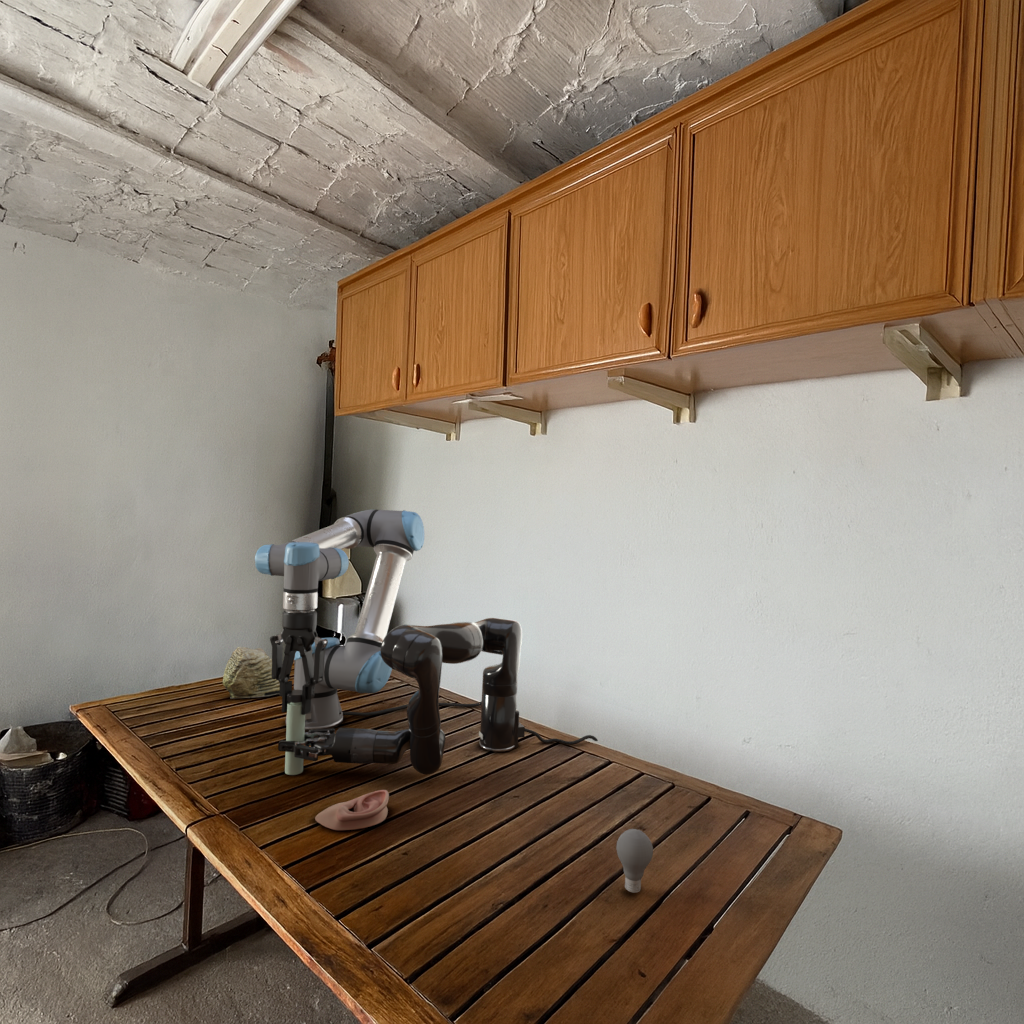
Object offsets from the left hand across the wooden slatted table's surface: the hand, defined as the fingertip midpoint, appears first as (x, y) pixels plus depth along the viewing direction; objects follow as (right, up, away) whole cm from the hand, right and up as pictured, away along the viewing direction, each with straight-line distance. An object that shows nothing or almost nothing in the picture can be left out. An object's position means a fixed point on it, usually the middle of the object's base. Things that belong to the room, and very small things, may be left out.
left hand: (296, 711), depth 145 cm
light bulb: (+70, -18, -39) cm, 82 cm away
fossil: (-31, -12, +53) cm, 63 cm away
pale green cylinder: (-1, -14, 0) cm, 14 cm away
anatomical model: (+18, -15, -19) cm, 30 cm away
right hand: (-3, -7, 0) cm, 8 cm away
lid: (0, +4, 0) cm, 4 cm away
